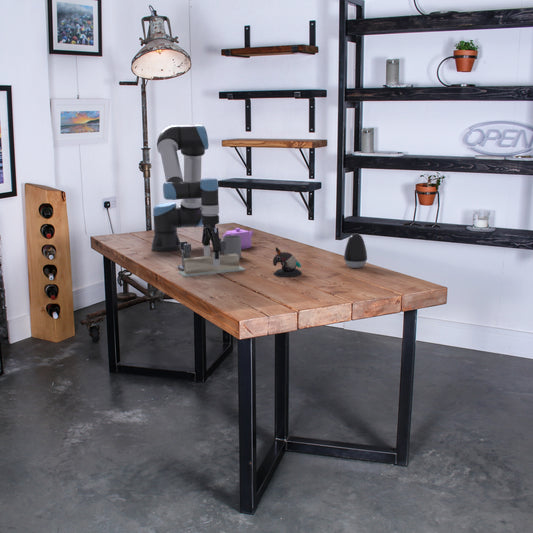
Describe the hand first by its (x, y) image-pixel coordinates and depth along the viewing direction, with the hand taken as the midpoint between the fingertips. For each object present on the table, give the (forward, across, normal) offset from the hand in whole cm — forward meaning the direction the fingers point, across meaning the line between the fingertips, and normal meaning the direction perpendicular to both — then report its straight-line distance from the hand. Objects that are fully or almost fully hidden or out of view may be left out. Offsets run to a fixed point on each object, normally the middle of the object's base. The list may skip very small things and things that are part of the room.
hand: (211, 263), depth 280 cm
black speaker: (+4, +19, +61) cm, 64 cm away
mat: (+4, 0, 0) cm, 4 cm away
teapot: (+4, -45, +29) cm, 54 cm away
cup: (+4, -24, +18) cm, 30 cm away
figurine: (+4, +18, +28) cm, 33 cm away
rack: (+4, -9, -1) cm, 10 cm away
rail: (+3, 0, 0) cm, 3 cm away
